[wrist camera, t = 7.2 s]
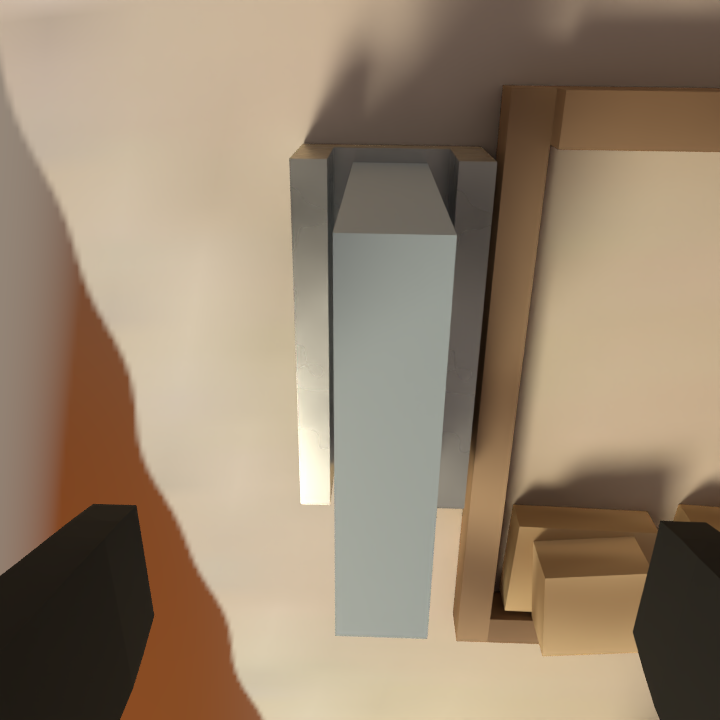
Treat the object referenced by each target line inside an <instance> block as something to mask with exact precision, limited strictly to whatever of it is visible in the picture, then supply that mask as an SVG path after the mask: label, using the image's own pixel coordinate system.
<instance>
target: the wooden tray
mask: <svg viewBox="0 0 720 720" xmlns="http://www.w3.org/2000/svg"><path fill="white" fill-rule="evenodd" d="M550 145H551V146H553V147H555V148H557V149H560V150H623V151H686V152H720V88H662V87H588V86H514V85H503V90H502V101H501V112H500V122H499V133H498V143H497V154H496V161H497V171H496V181H495V192H494V202H493V213H492V223H491V234H490V244H489V255H488V265H487V276H486V286H485V296H484V307H483V317H482V328H481V338H480V349H479V359H478V370H477V380H476V391H475V401H474V412H473V422H472V432H471V443H470V453H469V464H468V474H467V485H466V495H465V506H464V509H463V513H462V524H461V534H460V545H459V556H458V566H457V577H456V587H455V598H454V608H453V617H454V625H455V633H456V641H469V642H498V643H526V644H539V641H538V638H537V634H536V630H535V627H534V623H533V619H532V612H525V611H505V610H504V605H503V600H502V596H501V592H494V584H495V576H496V568H497V561H498V553H499V545H500V537H501V529H502V521H503V513H504V505H505V498H506V490H507V482H508V474H509V466H510V458H511V450H512V442H513V434H514V427H515V419H516V411H517V403H518V395H519V387H520V379H521V371H522V363H523V356H524V348H525V340H526V332H527V324H528V316H529V308H530V300H531V293H532V285H533V277H534V269H535V261H536V253H537V245H538V237H539V229H540V222H541V214H542V206H543V198H544V190H545V182H546V174H547V166H548V159H549V151H550Z"/></svg>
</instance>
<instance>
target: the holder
mask: <svg viewBox="0 0 720 720" xmlns="http://www.w3.org/2000/svg"><path fill="white" fill-rule="evenodd" d="M289 161H290V192H291V223H292V253H293V284H294V315H295V346H296V377H297V407H298V438H299V469H300V500H301V504H318V505H330V503H331V494H332V486H333V477H334V347H333V230H334V227H335V223H336V220H337V216H338V213H339V210H340V206H341V203H342V199H343V196H344V192H345V189H346V185H347V182H348V178H349V175H350V171H351V168H352V164H353V162H366V163H428V165H429V168H430V170H431V173H432V175H433V178H434V180H435V183H436V185H437V188H438V190H439V192H440V195H441V197H442V200H443V202H444V205H445V207H446V210H447V212H448V214H449V217H450V219H451V222H452V224H453V227H454V229H455V232H456V234H457V242H456V255H455V269H454V282H453V296H452V310H451V323H450V337H449V350H448V364H447V377H446V391H445V405H444V418H443V432H442V445H441V459H440V472H439V486H438V500H437V508H453V509H464V506H465V495H466V485H467V474H468V464H469V453H470V443H471V432H472V422H473V412H474V401H475V391H476V380H477V370H478V359H479V349H480V338H481V328H482V317H483V307H484V296H485V286H486V276H487V265H488V255H489V244H490V234H491V223H492V213H493V202H494V192H495V181H496V171H497V161H496V160H495V159H494V158H493V157H492V156H490V155H489V154H488V153H487V152H486V151H485V150H484V149H483V148H482V147H477V146H414V145H351V144H302V145H301V146H300V148H299V149H298V150H297V151H296V152H295V153H294V154H293V155H292V156H291V157H290V158H289Z"/></svg>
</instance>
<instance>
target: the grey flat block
mask: <svg viewBox="0 0 720 720" xmlns="http://www.w3.org/2000/svg"><path fill="white" fill-rule="evenodd" d="M456 242H457V234H456V232H455V229H454V227H453V224H452V222H451V219H450V217H449V214H448V212H447V210H446V207H445V205H444V202H443V200H442V197H441V195H440V192H439V190H438V188H437V185H436V183H435V180H434V178H433V175H432V173H431V170H430V168H429V165H428V163H366V162H353V164H352V168H351V171H350V175H349V178H348V182H347V185H346V189H345V192H344V196H343V199H342V203H341V206H340V210H339V213H338V216H337V220H336V223H335V227H334V230H333V347H334V501H335V636H358V637H387V638H416V639H427V635H428V622H429V608H430V595H431V581H432V567H433V554H434V540H435V527H436V513H437V500H438V486H439V472H440V459H441V445H442V432H443V418H444V405H445V391H446V377H447V364H448V350H449V337H450V323H451V310H452V296H453V282H454V269H455V255H456Z"/></svg>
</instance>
